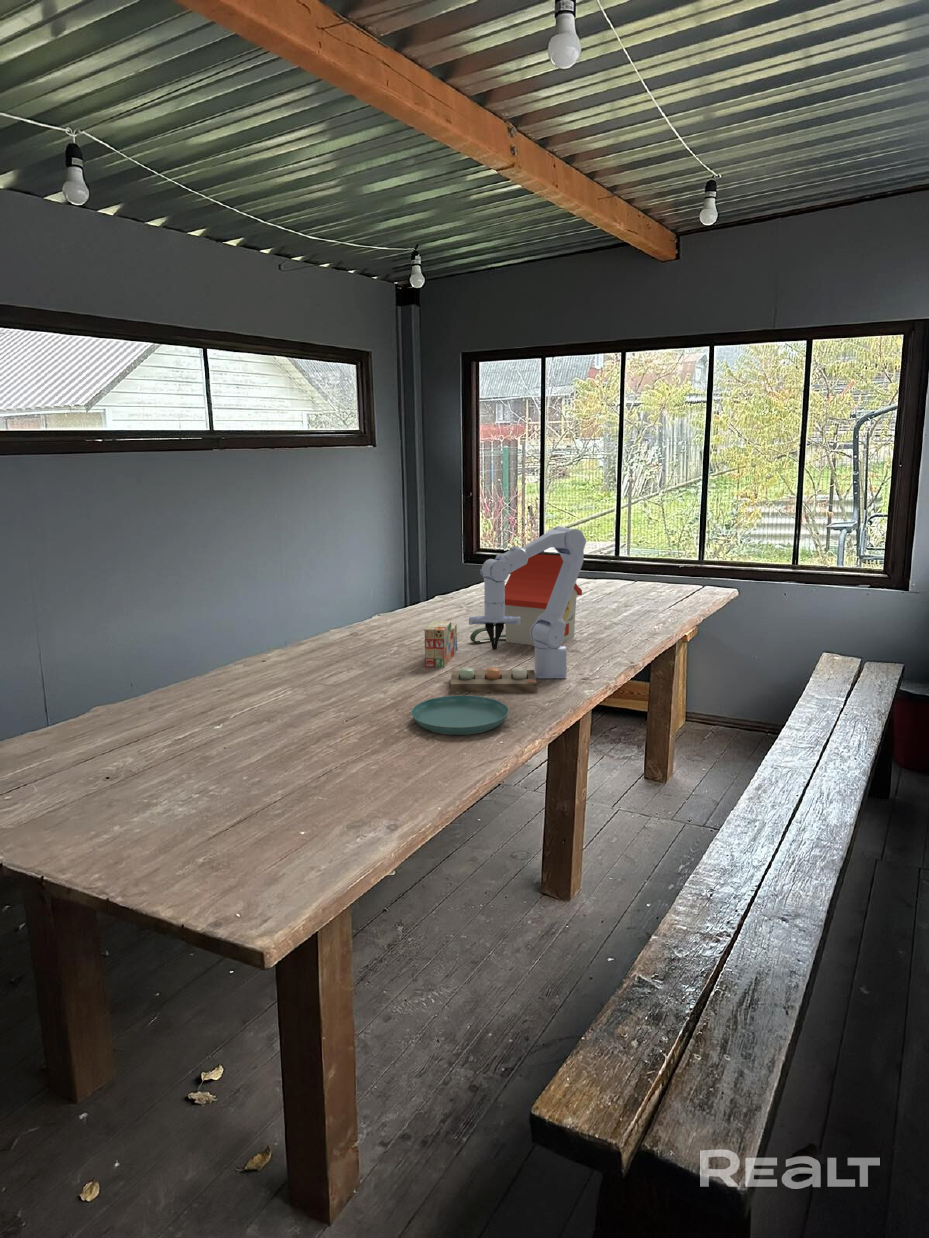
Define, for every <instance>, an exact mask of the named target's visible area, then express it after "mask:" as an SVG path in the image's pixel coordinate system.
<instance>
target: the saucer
mask: <svg viewBox="0 0 929 1238" xmlns="http://www.w3.org/2000/svg"><path fill="white" fill-rule="evenodd" d="M410 713H411V716H412V718H413V720H414V721H415V722H416V723H417V724H418V726H420V727H422V728H423V729H425V730H427V731H429V732H431V733H432V732H433V733H436V734H439V735H449V736H467V735H476V734H481V733H484V732H488V731H491V730H493V729H495V728H496V727H498V726H499V725H501V724H502V723H503V722H504V721H505V719H506V718H507V717H508V714H509V708H508V706H507V705H506V704H505V703H503V702H501V701H500V700H497V699H493V698H490V697H485V696H479V695H470V694H469V695H468V694H467V695H465V694H464V695H446V696H440V697H439V696H438V697H433V698H430V699H426V700H424V701H422V702H419V703H417V704H416V705H415V706H414V707H412V709H411V712H410Z"/></svg>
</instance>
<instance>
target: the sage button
mask: <svg viewBox="0 0 929 1238" xmlns="http://www.w3.org/2000/svg"><path fill="white" fill-rule="evenodd" d="M459 670H460V679H474V670H475V669H474V668H473V667H463V668H460V669H459Z"/></svg>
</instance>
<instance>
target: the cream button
mask: <svg viewBox="0 0 929 1238" xmlns="http://www.w3.org/2000/svg"><path fill="white" fill-rule="evenodd" d="M512 670H513V679H527V670H528V668H527V667H521V666H517V667H513V668H512Z"/></svg>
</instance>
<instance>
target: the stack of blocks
mask: <svg viewBox="0 0 929 1238" xmlns="http://www.w3.org/2000/svg"><path fill="white" fill-rule="evenodd" d="M457 630H458V627H457V624H456V623H452V621H451V620H432V621H431V622H430V623H429V624H428V625H427V626H426V627H425V628H424V631H423V632H424V667H425V668H441V667H444V668H445V667H446V666H447V665H448V664H449V663H450V662H451V660H450V659H452V658H453V657H454V656H455V654H456V653H457V652H456V651H458V633H457ZM451 657H452V658H451ZM448 662H449V663H448ZM446 664H447V665H446Z"/></svg>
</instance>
